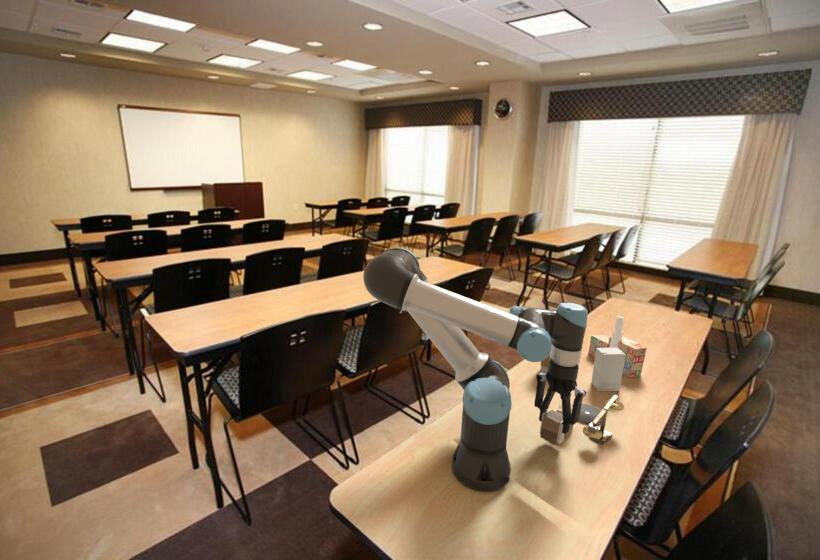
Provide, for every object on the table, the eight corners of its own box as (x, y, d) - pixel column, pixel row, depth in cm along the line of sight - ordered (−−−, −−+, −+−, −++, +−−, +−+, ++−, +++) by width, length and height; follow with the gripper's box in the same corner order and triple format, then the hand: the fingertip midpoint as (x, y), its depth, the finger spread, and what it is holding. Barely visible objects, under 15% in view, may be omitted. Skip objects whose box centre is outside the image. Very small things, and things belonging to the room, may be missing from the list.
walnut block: (554, 445, 111) (558, 422, 109) (540, 436, 114) (543, 415, 112) (562, 438, 114) (566, 416, 112) (548, 430, 117) (551, 409, 115)
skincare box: (611, 383, 151) (618, 346, 147) (620, 392, 145) (627, 354, 141) (589, 383, 151) (595, 346, 147) (597, 392, 145) (603, 353, 141)
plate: (595, 428, 123) (595, 424, 123) (564, 413, 130) (564, 410, 130) (609, 416, 130) (609, 413, 129) (578, 403, 137) (579, 400, 136)
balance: (595, 454, 111) (601, 418, 108) (577, 445, 115) (583, 410, 112) (622, 428, 123) (628, 396, 120) (605, 421, 127) (611, 389, 124)
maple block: (569, 435, 119) (572, 414, 117) (554, 430, 122) (556, 409, 120) (572, 428, 123) (576, 407, 121) (557, 423, 125) (560, 402, 123)
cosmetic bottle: (608, 363, 168) (616, 313, 163) (623, 369, 163) (632, 317, 158) (600, 367, 164) (609, 315, 159) (615, 372, 160) (625, 320, 154)
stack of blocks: (587, 355, 174) (592, 328, 171) (598, 354, 176) (603, 327, 173) (629, 378, 155) (635, 348, 152) (641, 376, 157) (647, 347, 154)
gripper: (603, 369, 104) (588, 447, 110) (542, 346, 116) (531, 417, 122) (590, 377, 99) (574, 459, 105) (527, 352, 112) (517, 426, 117)
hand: (551, 436), depth 114 cm, fingers closed on walnut block, 4 cm apart
